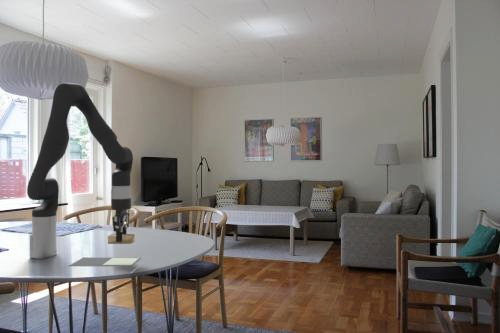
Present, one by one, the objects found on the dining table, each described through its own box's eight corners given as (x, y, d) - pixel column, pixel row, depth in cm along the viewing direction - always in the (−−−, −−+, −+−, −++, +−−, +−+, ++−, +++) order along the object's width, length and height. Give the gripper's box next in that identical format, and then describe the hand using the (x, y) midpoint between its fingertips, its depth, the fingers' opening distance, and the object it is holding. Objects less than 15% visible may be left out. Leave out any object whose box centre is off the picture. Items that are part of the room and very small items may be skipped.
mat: (68, 267, 157) (68, 265, 157) (83, 258, 171) (83, 256, 171) (131, 267, 157) (131, 265, 157) (141, 258, 171) (141, 257, 171)
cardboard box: (130, 243, 161) (130, 235, 161) (107, 243, 162) (107, 235, 161) (134, 241, 166) (134, 233, 166) (112, 241, 167) (112, 233, 166)
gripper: (125, 198, 157) (125, 244, 157) (135, 195, 171) (136, 237, 171) (105, 198, 157) (105, 244, 157) (117, 195, 171) (117, 237, 171)
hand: (121, 240), depth 164 cm, fingers closed on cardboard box, 5 cm apart
